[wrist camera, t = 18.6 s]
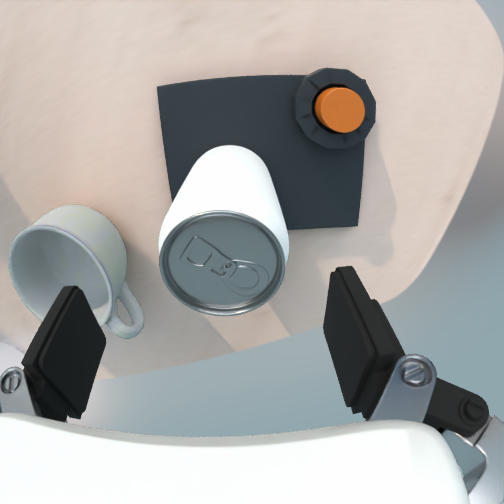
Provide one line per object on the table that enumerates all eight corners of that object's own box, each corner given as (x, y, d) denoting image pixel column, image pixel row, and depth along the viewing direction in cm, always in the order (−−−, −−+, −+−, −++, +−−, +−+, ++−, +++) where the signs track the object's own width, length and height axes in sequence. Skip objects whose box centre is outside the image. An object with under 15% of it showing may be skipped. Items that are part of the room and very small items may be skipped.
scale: (180, 230, 27) (174, 247, 24) (160, 80, 20) (149, 79, 17) (354, 220, 27) (365, 236, 24) (360, 73, 20) (375, 72, 17)
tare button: (315, 128, 20) (321, 132, 18) (314, 86, 18) (320, 86, 17) (355, 130, 20) (364, 134, 18) (356, 89, 18) (365, 89, 17)
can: (241, 233, 26) (242, 339, 15) (175, 194, 24) (129, 285, 13) (286, 172, 23) (325, 252, 13) (217, 128, 21) (193, 170, 11)
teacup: (33, 230, 26) (-7, 272, 19) (87, 167, 23) (39, 201, 16) (115, 315, 32) (94, 367, 25) (181, 274, 29) (166, 332, 22)
